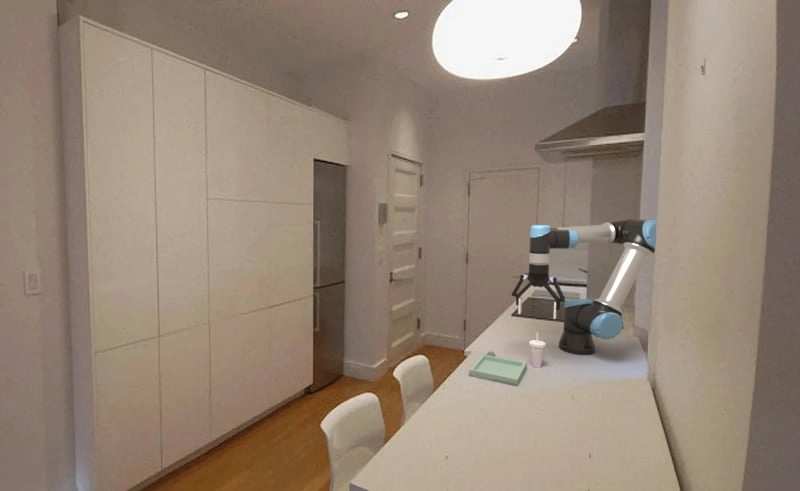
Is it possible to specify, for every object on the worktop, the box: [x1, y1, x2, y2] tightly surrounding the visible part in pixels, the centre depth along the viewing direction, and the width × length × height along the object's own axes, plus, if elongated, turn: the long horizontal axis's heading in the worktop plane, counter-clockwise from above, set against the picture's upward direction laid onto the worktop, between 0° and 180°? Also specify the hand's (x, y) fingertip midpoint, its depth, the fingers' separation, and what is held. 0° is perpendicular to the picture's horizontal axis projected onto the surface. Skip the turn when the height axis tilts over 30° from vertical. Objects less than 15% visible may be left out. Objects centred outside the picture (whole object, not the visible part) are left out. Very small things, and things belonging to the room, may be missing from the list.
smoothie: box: [528, 332, 546, 368], centre depth 157 cm, size 6×6×14 cm
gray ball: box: [486, 350, 496, 357], centre depth 163 cm, size 4×4×4 cm
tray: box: [468, 354, 528, 387], centre depth 151 cm, size 18×18×2 cm
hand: (537, 315), depth 156 cm, fingers open, 13 cm apart
